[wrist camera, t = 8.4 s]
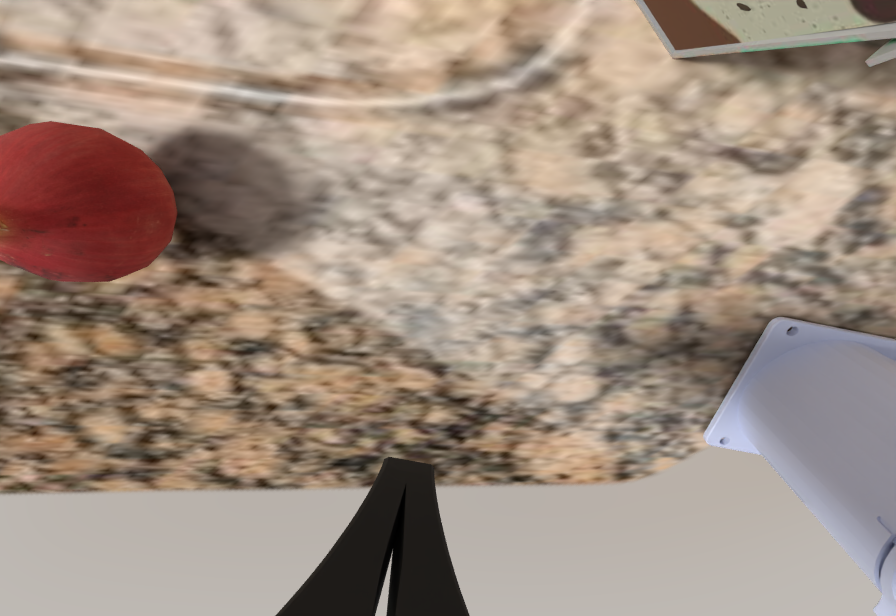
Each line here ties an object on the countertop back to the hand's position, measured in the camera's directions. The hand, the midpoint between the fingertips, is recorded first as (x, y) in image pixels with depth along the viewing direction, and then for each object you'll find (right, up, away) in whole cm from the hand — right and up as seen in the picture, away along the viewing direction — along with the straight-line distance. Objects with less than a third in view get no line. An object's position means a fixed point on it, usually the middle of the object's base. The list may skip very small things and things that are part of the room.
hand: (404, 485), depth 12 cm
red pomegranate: (-12, +11, +8) cm, 18 cm away
